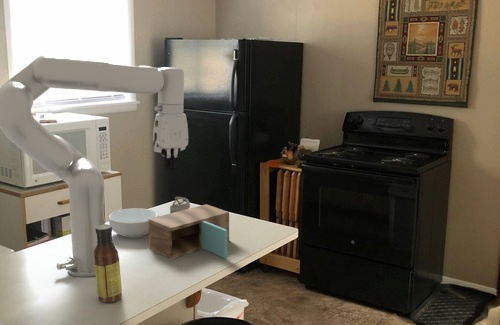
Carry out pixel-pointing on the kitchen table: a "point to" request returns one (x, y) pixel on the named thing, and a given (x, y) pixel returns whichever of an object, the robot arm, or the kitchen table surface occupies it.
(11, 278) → the kitchen table surface
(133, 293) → the kitchen table surface
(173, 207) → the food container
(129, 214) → the cereal bowl
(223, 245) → the door
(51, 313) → the kitchen table surface
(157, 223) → the cabinet
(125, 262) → the kitchen table surface
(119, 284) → the sauce bottle
